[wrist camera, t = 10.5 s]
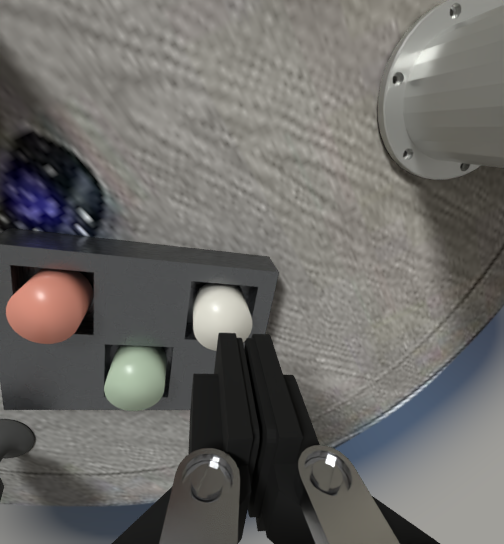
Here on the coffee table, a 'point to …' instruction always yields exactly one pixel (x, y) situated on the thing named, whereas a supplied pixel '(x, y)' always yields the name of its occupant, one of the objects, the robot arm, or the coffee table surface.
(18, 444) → the sundae
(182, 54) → the coffee table surface
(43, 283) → the button coral
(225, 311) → the button ivory
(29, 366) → the panel
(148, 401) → the button sage
